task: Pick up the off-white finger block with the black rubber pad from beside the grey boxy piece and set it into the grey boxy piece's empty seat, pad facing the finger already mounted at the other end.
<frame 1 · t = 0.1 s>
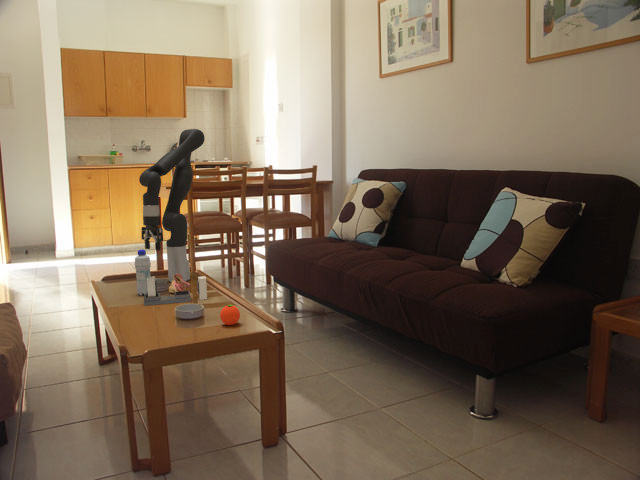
hand: (152, 249, 254), 17 cm above the table, tool pointing down, fingers open, 8 cm apart
bottle: (144, 294, 239), on the table
clementine: (230, 324, 191), on the table
finger block: (203, 298, 230), on the table
grey boxy piece: (167, 301, 226), on the table
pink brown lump: (181, 292, 242), on the table
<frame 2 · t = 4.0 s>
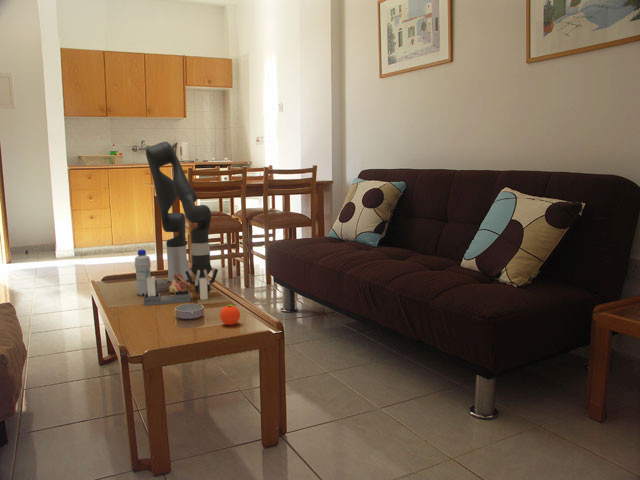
hand: (202, 293, 229), 2 cm above the table, tool pointing down, fingers closed on finger block, 3 cm apart
finger block: (203, 298, 230), on the table, touching gripper
everything else where it was.
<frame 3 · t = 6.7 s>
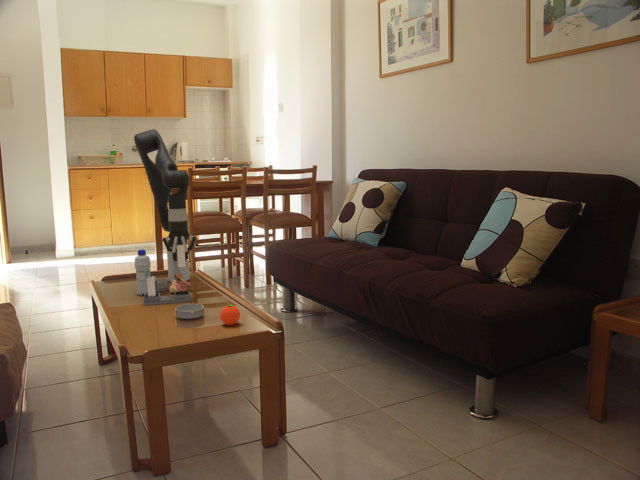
hand: (180, 260, 225), 17 cm above the table, tool pointing down, fingers closed on finger block, 3 cm apart
finger block: (181, 265, 225), point 14 cm above the table, touching gripper
everything else where it was.
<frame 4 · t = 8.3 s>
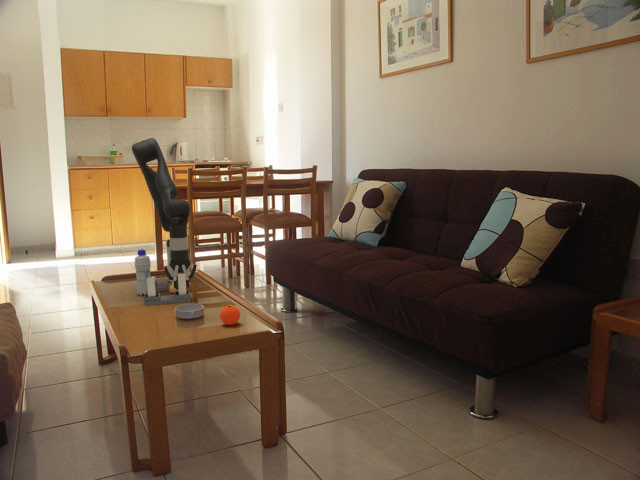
hand: (181, 288, 227), 5 cm above the table, tool pointing down, fingers closed on finger block, 3 cm apart
finger block: (182, 293, 227), point 3 cm above the table, touching gripper
everything else where it was.
when the fingers open (5 cm above the table, at t = 8.6 s): finger block stays where it is, resting on grey boxy piece.
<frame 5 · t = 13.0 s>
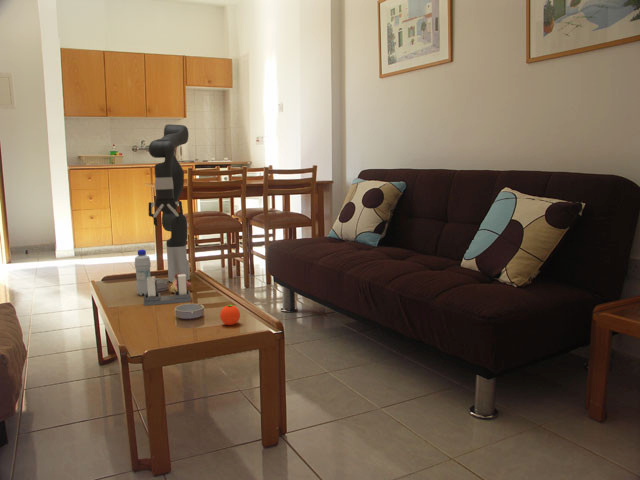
hand: (166, 225, 236), 30 cm above the table, tool pointing down, fingers open, 8 cm apart
finger block: (183, 296, 227), point 1 cm above the table, touching grey boxy piece
everything else where it was.
at the end: finger block 0.3 cm from the target spot, point 1.5 cm above the table; finger block tilted 0°; the gripper is holding nothing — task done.
